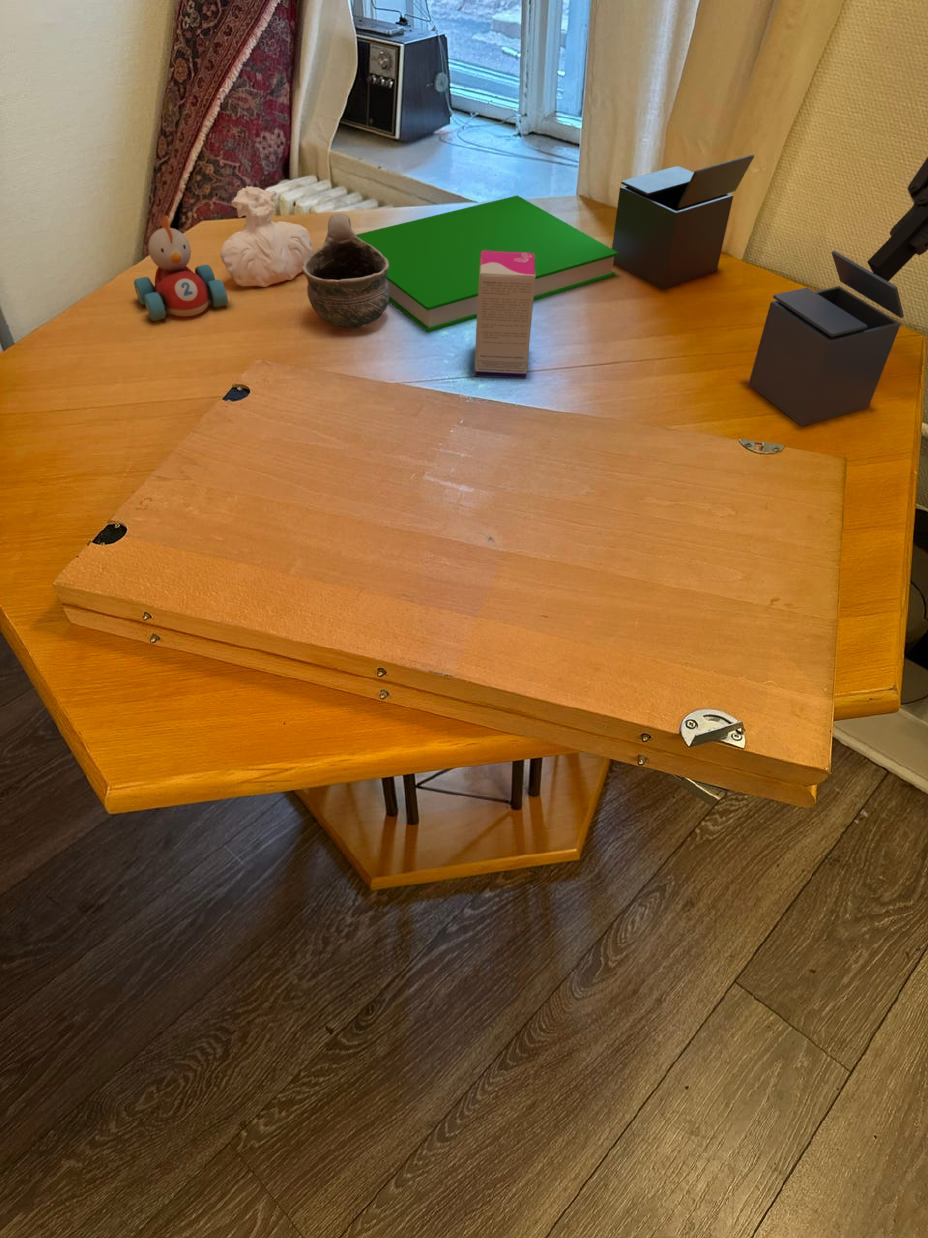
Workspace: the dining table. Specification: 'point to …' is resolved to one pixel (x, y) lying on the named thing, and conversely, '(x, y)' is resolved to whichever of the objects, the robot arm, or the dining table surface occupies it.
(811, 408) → the front carton
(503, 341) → the supplement box
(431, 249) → the book
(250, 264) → the bust
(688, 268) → the back carton
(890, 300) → the front flap
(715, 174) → the back flap
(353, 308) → the mug
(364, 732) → the dining table surface
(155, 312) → the toy car
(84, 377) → the dining table surface
